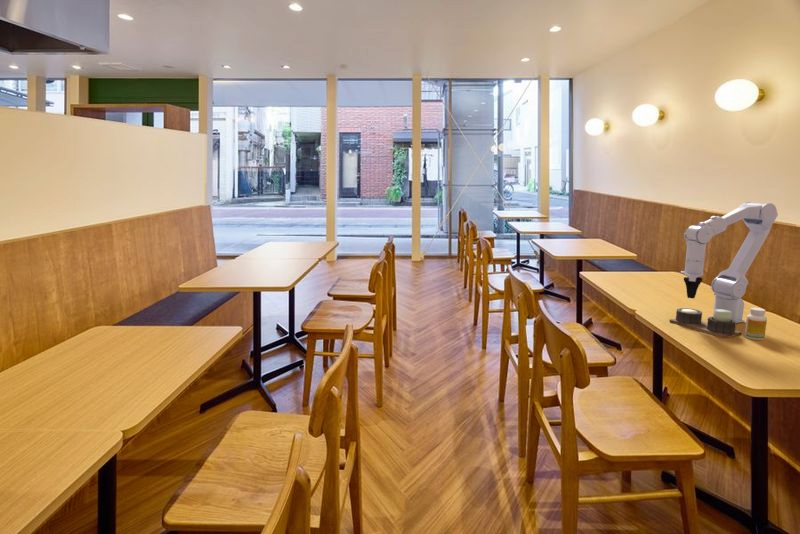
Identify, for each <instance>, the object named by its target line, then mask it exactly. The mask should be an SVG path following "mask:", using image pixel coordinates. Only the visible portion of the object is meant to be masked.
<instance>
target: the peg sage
mask: <svg viewBox="0 0 800 534" xmlns="http://www.w3.org/2000/svg"><path fill="white" fill-rule="evenodd" d="M713 313H714V316H713V315H712V317H713V320H715V321H719V322H731V315H732V312H731V311H728V310H723V309H715V310H714V309H713Z"/></svg>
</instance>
